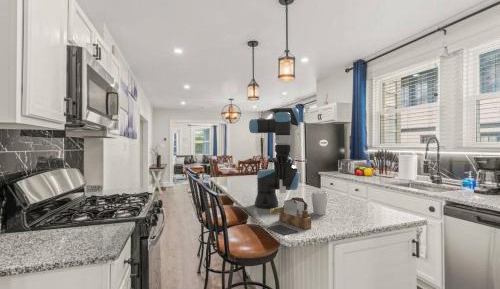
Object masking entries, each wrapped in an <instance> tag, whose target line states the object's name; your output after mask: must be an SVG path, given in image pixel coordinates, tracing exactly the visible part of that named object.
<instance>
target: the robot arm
mask: <svg viewBox="0 0 500 289" xmlns="http://www.w3.org/2000/svg"><path fill="white" fill-rule="evenodd" d="M248 126H249V127H248V128H249V132H250V134H274V144H275V145H274V152H275V156H274V157H273V158H272V159H271V160H272V162H273V166H274V167H273V168H268V169H261V170H258V171H257V176H256V177H257V178H256V179H257V183H256V184H257V188H256V189H257V191H256V192H257V193H256V197H255V200H254V207H256V208H260V209H261V208H262V209H270V208H274V209H275V208H279V201H278V196H277V194H276V191H277V190H279V193H280V194H286V193H287V191H296V190H298V189H299V182H300V173H301V172H300V171H299V170H298V167H297V166H296V130H297V129H298V128H299V127H298V126H301V122H300V113H299V108H297V107H275V108H270V109H267V110H265V111H263V112H262V114H261V115H260V117H258V118H254V119H250V120H249V123H248Z"/></svg>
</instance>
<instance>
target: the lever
mask: <svg viewBox="0 0 500 289" xmlns="http://www.w3.org/2000/svg"><path fill="white" fill-rule="evenodd" d="M281 211H284V208H283V206H281V207H275V208H269V213H270V214H275V213H279V212H281Z"/></svg>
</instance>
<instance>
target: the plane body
mask: <svg viewBox="0 0 500 289" xmlns="http://www.w3.org/2000/svg"><path fill="white" fill-rule="evenodd" d="M282 207H283V208H284V204H283V205H282ZM278 213H279V214H278V215H279V216H278V217H279V218H278V220H279V222H283V223H286V224H288V225H291V226H294V227H297V228H299V229H302V230H310V229H312V217H311V216H309V214H308V213H309V211H308V209H307V210H303V211H302V216H297V217H296V216H293V215H290V214H287V213H284V211H281V212H278Z"/></svg>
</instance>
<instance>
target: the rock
mask: <svg viewBox="0 0 500 289" xmlns="http://www.w3.org/2000/svg"><path fill="white" fill-rule="evenodd" d="M290 200H295V201H299V202H303V203H304V210H307V211H308V203H307V202H305V199H304V197H303V198H302V197H292V198H291V199H290Z"/></svg>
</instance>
